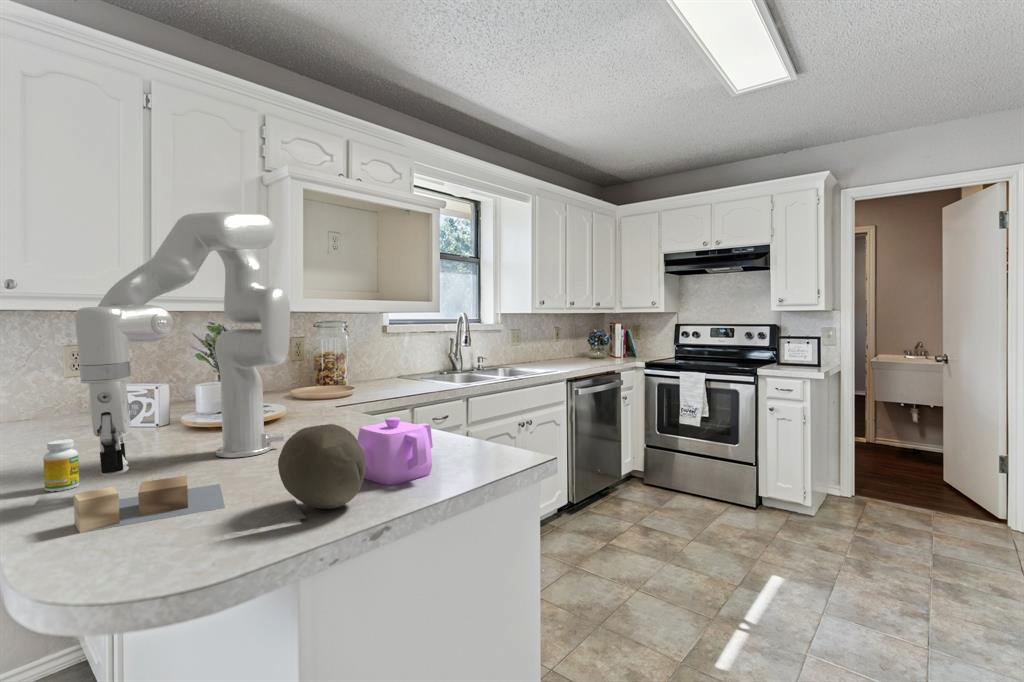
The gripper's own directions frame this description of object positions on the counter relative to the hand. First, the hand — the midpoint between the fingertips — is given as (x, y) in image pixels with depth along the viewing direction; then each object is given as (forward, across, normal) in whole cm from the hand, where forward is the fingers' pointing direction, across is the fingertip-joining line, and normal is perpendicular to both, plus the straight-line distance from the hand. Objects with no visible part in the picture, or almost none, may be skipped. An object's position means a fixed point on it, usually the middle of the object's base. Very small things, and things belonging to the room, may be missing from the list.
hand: (114, 467), depth 99 cm
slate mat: (+6, -12, -7) cm, 15 cm away
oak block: (+5, -17, +1) cm, 18 cm away
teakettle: (+7, -14, -49) cm, 51 cm away
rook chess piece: (+1, 0, 0) cm, 1 cm away
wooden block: (+5, -13, -8) cm, 16 cm away
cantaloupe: (+6, -28, -32) cm, 43 cm away
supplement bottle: (+6, +14, +10) cm, 18 cm away
